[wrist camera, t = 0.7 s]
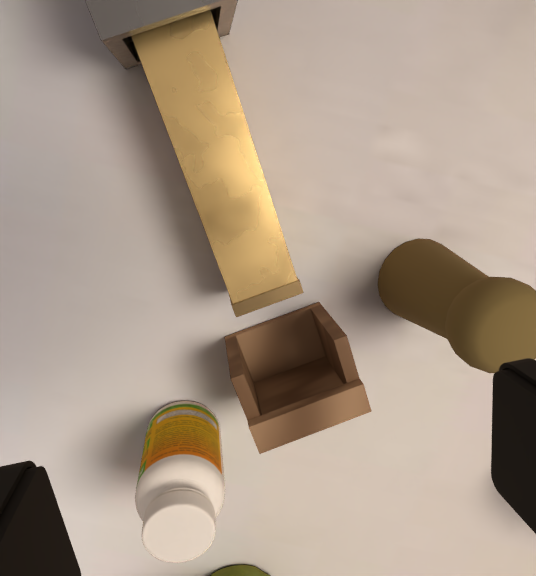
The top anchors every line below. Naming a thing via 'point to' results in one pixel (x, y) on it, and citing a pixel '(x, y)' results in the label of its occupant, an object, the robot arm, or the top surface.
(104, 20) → the steel sleeve
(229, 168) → the long gold plank
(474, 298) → the cork
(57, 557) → the robot arm
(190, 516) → the supplement bottle
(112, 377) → the top surface
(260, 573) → the plant pot
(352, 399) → the walnut socket
